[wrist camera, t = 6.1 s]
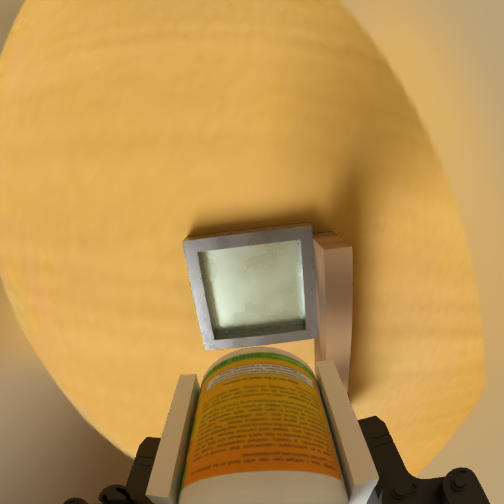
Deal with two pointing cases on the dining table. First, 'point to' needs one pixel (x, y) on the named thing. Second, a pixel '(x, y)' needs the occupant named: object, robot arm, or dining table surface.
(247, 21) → the dining table surface
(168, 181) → the dining table surface
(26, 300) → the dining table surface
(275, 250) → the socket
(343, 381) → the door edge rail
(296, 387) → the supplement bottle
